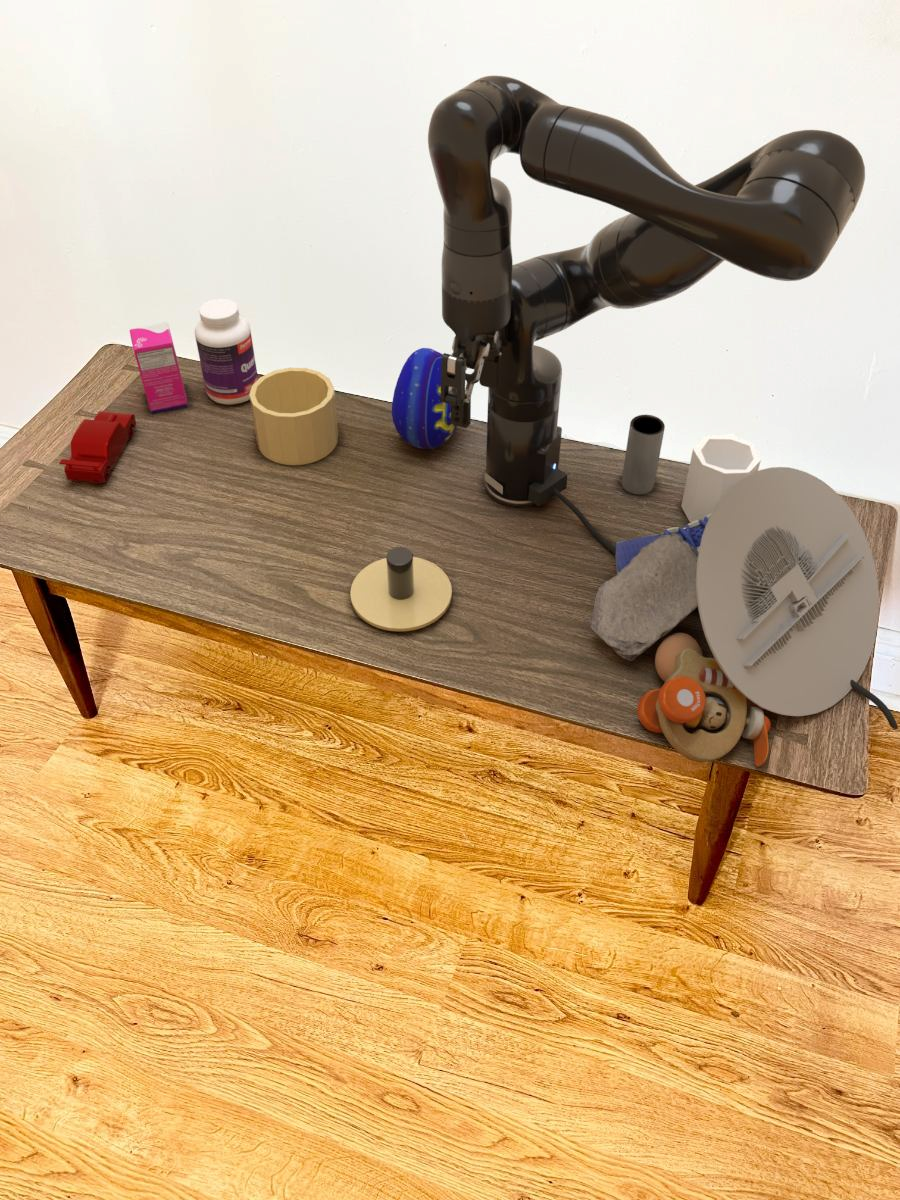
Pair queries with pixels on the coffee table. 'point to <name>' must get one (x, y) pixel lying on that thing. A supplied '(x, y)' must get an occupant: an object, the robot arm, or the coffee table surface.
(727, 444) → the mug
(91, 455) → the toy car
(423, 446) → the ornament
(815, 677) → the plate
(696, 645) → the egg
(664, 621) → the stone
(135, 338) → the supplement box
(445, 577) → the lid
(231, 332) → the pill bottle
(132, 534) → the coffee table surface
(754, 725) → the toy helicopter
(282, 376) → the pot
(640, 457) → the grey hollow tube
